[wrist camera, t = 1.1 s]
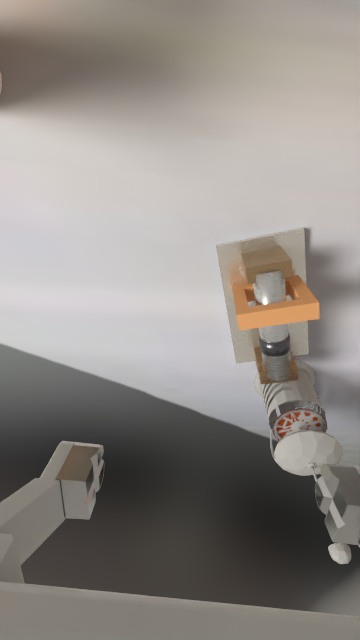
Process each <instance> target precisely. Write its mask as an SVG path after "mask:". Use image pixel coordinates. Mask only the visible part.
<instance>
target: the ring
mask: <svg viewBox="0 0 360 640" xmlns="http://www.w3.org/2000/svg"><path fill="white" fill-rule="evenodd" d="M285 288H286V296H288V295H290V297H291V298H292V300H290V301H283V302H277V303H271V304H265V305H258V306H252V307H249V306H248V302H251V301H255V295H254V287H253V284H242V285H236V286H232V290H233V296H234V303H235V309H236V315H237V322H238V328H239V330H246V329H253V328H260V327H267V326H274V325H281V324H288V323H295V322H302V321H308V320H315V319H320V315H319V301H318V300H317V299H316V297H315V296H314V295H313V293H312V292H311V291H310V289H309V288H308V287H307V286H306V284H305V283H304V282H303V280H302V279H301V278H300V277H299V275H294V276H293V277H288V278H285Z"/></svg>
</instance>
